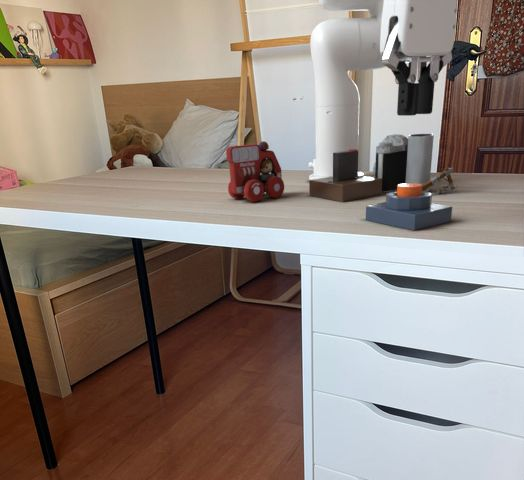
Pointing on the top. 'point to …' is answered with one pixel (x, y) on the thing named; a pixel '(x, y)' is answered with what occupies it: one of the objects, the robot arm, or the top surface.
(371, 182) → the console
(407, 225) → the button box
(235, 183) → the toy fire truck
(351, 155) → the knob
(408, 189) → the button
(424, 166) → the grey hollow tube
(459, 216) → the top surface
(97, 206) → the top surface
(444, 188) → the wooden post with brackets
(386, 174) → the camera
